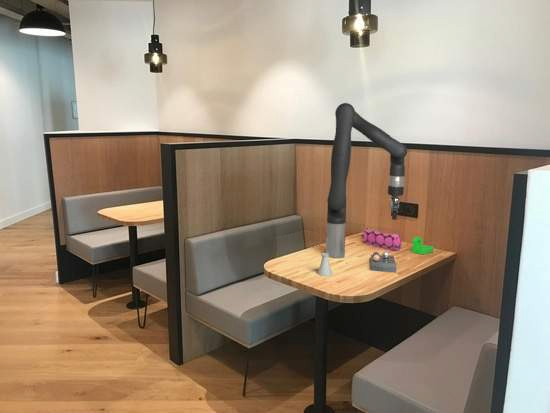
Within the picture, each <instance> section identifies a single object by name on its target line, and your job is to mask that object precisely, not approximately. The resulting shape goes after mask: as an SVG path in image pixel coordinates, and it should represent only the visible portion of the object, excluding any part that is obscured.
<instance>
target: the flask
mask: <svg viewBox="0 0 550 413" xmlns="http://www.w3.org/2000/svg"><path fill="white" fill-rule="evenodd" d="M328 255H329V254H328V253H326V252H323V253H321V262H320V265H319V267H318V271H317V272H316V274H317V275H318V276H321V277H330V276H333V270H332V268H331V265H330V261H329V257H328Z"/></svg>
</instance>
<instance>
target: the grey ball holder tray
mask: <svg viewBox="0 0 550 413" xmlns="http://www.w3.org/2000/svg"><path fill="white" fill-rule="evenodd" d="M379 255H380V256H379V257H380V260H379V261H374V260H373V254H370V270H371V271H372V272H381V273H382V272H383V273H397V267H398V266H397V263H396V261H395V256H394V255H389V257H388V258H384V257H383V254H382V255H381V254H379Z"/></svg>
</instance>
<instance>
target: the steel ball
mask: <svg viewBox="0 0 550 413" xmlns="http://www.w3.org/2000/svg"><path fill="white" fill-rule="evenodd" d="M382 255H383V257H384V258H388V257H389V256H390V253H389V251H383V252H382Z"/></svg>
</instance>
